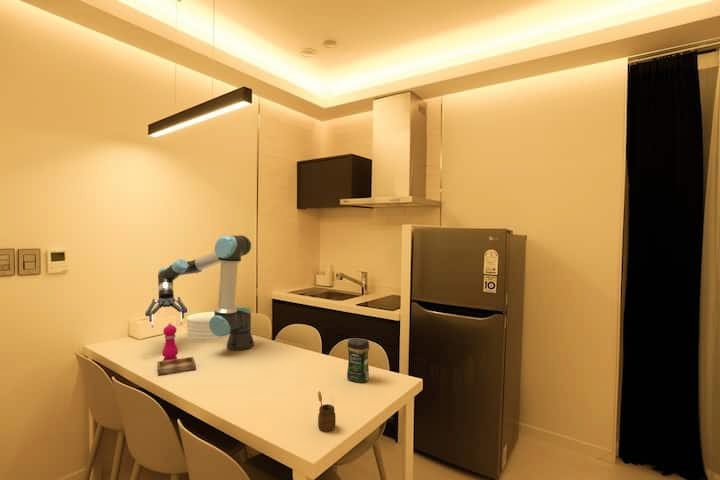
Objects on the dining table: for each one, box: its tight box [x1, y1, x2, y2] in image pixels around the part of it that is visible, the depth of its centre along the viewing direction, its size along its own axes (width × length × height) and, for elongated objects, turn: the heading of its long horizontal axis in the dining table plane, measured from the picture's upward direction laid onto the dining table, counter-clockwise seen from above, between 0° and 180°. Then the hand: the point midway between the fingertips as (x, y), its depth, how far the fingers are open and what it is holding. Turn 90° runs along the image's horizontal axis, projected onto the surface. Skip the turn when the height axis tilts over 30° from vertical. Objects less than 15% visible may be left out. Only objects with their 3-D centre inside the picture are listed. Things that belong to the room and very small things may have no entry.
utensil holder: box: [317, 390, 337, 432], centre depth 132 cm, size 6×6×12 cm
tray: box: [157, 356, 197, 377], centre depth 187 cm, size 16×12×3 cm
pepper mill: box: [162, 322, 179, 361], centre depth 198 cm, size 7×7×20 cm
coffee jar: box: [346, 337, 370, 383], centre depth 175 cm, size 10×8×19 cm
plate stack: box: [186, 311, 230, 340], centre depth 252 cm, size 28×28×12 cm
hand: (167, 324), depth 204 cm, fingers open, 13 cm apart
